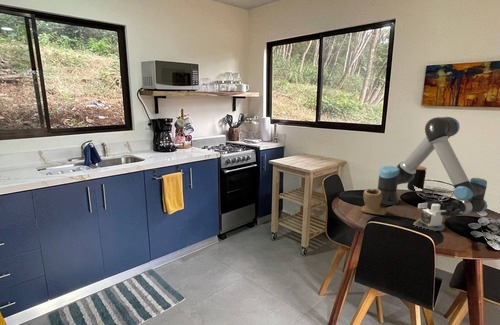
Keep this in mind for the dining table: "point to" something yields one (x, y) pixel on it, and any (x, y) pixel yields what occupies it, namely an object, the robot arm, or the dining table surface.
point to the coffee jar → (418, 178)
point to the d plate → (423, 225)
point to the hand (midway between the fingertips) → (426, 209)
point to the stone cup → (373, 202)
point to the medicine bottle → (431, 215)
